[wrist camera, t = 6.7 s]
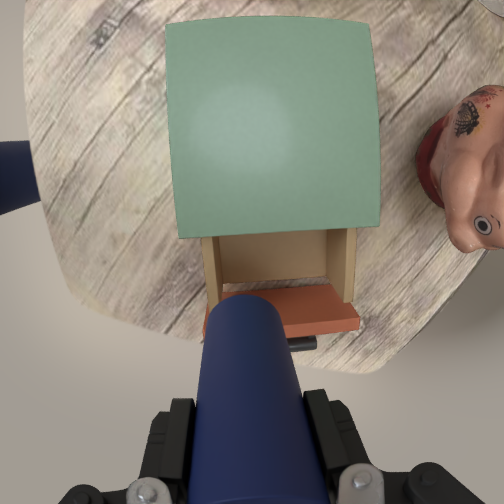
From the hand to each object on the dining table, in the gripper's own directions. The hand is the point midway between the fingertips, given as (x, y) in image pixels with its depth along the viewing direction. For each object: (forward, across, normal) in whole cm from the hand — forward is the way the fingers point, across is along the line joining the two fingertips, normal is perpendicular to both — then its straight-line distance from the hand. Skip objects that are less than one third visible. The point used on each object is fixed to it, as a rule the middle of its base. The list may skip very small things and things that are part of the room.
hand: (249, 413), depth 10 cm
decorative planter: (+20, -23, -10) cm, 32 cm away
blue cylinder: (+6, 0, 0) cm, 6 cm away
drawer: (+19, -3, 0) cm, 19 cm away
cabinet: (+20, -3, -11) cm, 23 cm away
